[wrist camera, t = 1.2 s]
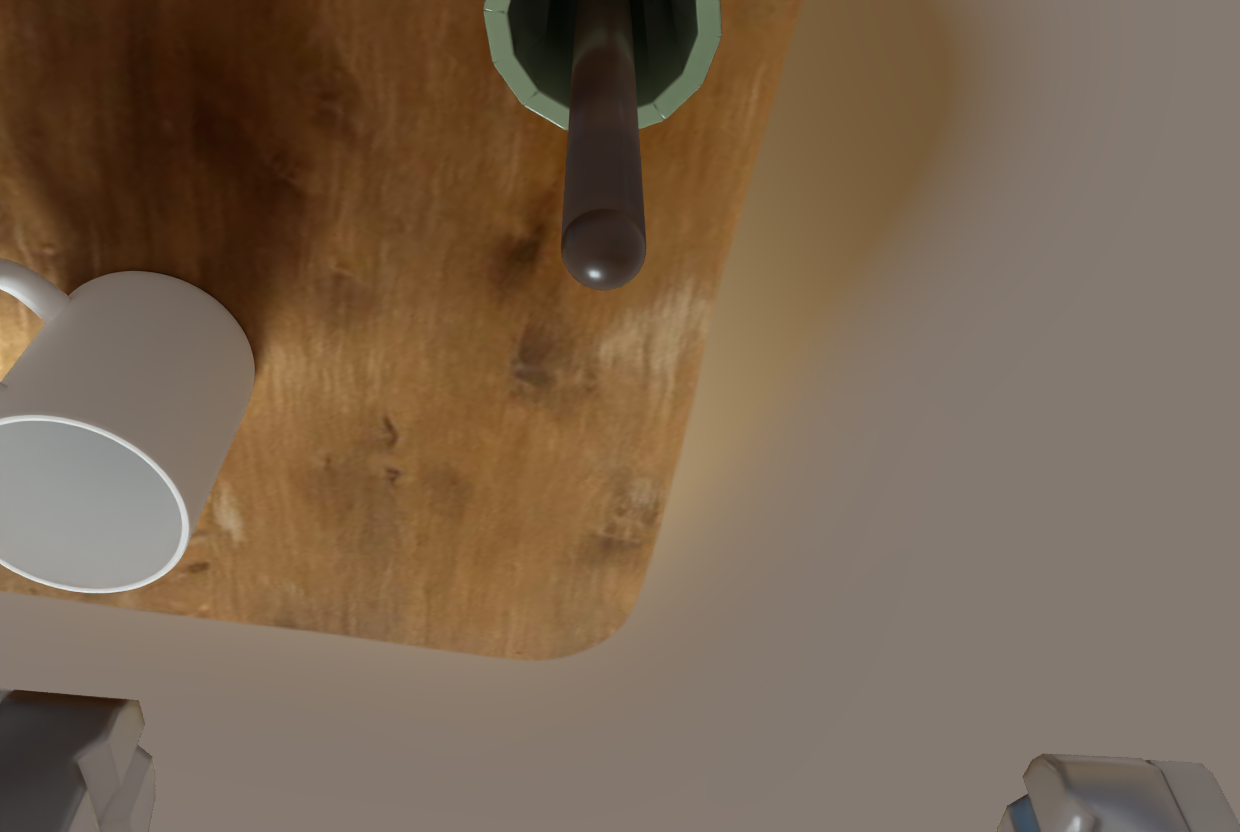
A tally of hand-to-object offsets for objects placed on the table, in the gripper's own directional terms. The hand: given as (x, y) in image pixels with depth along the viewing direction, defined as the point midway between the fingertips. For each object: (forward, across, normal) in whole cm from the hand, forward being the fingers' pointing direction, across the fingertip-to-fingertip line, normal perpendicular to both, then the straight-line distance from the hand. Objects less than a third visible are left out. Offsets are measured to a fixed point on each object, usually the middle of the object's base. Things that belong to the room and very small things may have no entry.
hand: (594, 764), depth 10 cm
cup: (+34, +18, +18) cm, 42 cm away
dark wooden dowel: (+33, 0, 0) cm, 33 cm away
